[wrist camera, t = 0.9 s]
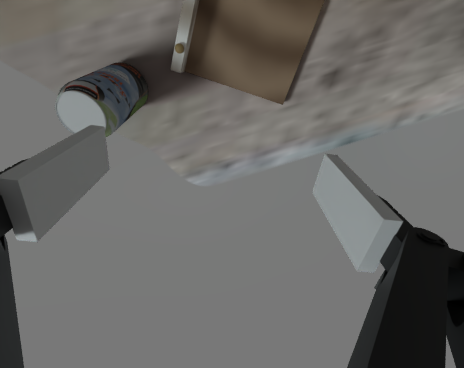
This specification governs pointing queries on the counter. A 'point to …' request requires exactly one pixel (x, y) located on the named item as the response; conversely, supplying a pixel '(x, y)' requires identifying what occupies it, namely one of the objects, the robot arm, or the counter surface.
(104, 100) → the beverage can
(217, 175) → the counter surface
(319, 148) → the counter surface
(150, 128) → the counter surface
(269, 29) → the wall board
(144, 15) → the counter surface
